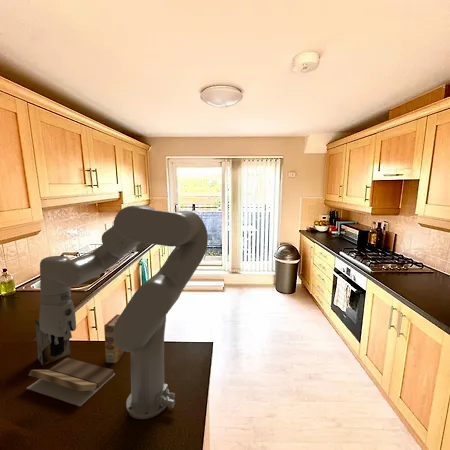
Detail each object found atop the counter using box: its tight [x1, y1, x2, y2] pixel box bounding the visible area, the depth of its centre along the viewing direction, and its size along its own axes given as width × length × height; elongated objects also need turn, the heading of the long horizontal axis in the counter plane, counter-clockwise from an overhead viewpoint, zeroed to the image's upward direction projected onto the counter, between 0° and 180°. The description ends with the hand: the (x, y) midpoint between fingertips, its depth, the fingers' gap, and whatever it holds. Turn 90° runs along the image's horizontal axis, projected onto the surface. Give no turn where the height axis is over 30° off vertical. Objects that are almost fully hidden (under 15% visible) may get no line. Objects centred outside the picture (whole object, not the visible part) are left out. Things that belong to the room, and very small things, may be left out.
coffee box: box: [34, 319, 71, 366], centre depth 91 cm, size 9×6×16 cm
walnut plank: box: [49, 357, 115, 388], centre depth 83 cm, size 21×6×2 cm, turn 73°
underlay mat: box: [26, 372, 116, 407], centre depth 79 cm, size 22×14×1 cm, turn 73°
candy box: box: [103, 314, 126, 364], centre depth 92 cm, size 9×4×15 cm, turn 176°
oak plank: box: [28, 369, 97, 391], centre depth 76 cm, size 21×6×2 cm
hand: (57, 353), depth 75 cm, fingers closed
